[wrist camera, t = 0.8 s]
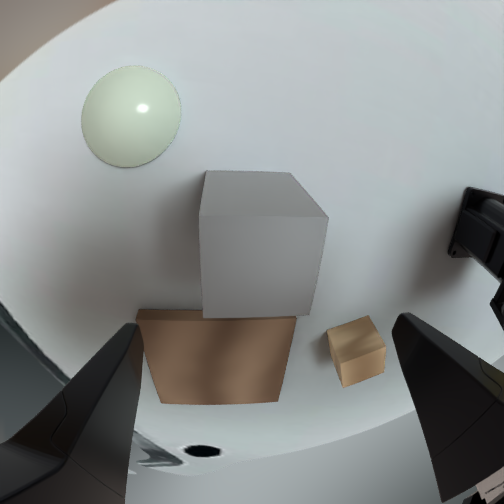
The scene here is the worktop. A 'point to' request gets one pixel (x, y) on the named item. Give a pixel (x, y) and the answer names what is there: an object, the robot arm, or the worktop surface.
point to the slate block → (258, 245)
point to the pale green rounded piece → (131, 116)
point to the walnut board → (215, 356)
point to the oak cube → (356, 351)
